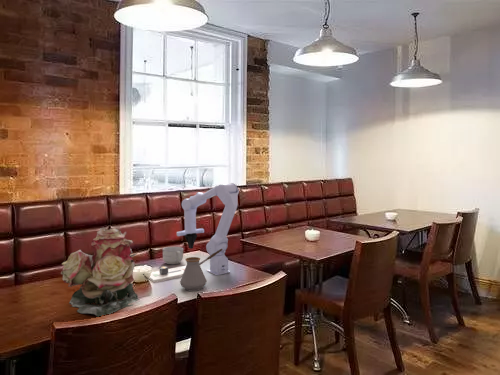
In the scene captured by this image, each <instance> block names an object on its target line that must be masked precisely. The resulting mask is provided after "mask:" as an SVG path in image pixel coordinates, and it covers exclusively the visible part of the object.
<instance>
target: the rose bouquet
mask: <svg viewBox="0 0 500 375" xmlns="http://www.w3.org/2000/svg"><path fill="white" fill-rule="evenodd" d="M126 235H127V231H124V232H123V233H122V231H121V230H119V229H117V228H116V229H115V228H109V229H108V228H107V227H100V228H99V230H98V231H96V237H95V238H93V239H92V241H91V247H92V249H93V251H94V253H93V254H92V255H91V254H88V253H85V252H83V251H82V249H79V250H77V251H75V252H71V253H70V255H68V258H67V260H65V261H63V262H62V263H61V265H62V267H61V270H62V271H61V272H60V275H62V281H63V283H65V284H68V285H67V287H68V288H72V287H74V286H78V285H80V287H79V289H77V290H76V291H74V293H72V295H71V299H70V300H69V303H68V304H69V305H71V307H74V308H78V309H77V310H76V312H77V313H79V314H91V315H95V316H96V317H97V318H98V317H99V316H102V315H106V314H109V315H111V313H112V314H113V312H114V313H115V312H117V311H119V310H121V309H123V308H127V307H132V306H134V304H133V303H137V301H139V300H140V298H139V295H138V294H137V292H135V290H134V288H133V286H134V283H133V282H134V281H135V279H134V269H135V264H136V263H135V260H133V257H135V256H136V255H137V253H134V254H133V251H132V248H131V246H130V245H133V244H134V243H135V242H134V241H133V240H132V239H131V240H130V239H127V238H126ZM106 316H107V315H106ZM102 317H103V316H102ZM99 318H100V317H99Z"/></svg>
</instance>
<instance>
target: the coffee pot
mask: <svg viewBox="0 0 500 375" xmlns="http://www.w3.org/2000/svg"><path fill="white" fill-rule="evenodd" d="M220 251H222V249H220V250H219V251H217V252H215V253H213V254H212V255H209V256H207V257H206V258H205V259H204V260H201V258H200V257H196V256H191V257H187V258H185V260H184V261H186V265H185V266H186V268H185V270H184V273H183V276H182V277H180V281H179V283H180V286H181V287H182V288H183V289H184V290H185V291H188V292H190V291H191V292H196V291H199V290H202V289H203V288H204V287H205V286H206V284H207V281H208V280H207V278H206V276H205V273H204V272H203V270H202V268H201V265H203V264H204V263H206V262H207V261H210V258H212V257H214V256H215V255H216V254H217V253H219V252H220ZM223 251H224V250H223ZM223 253H224V252H223ZM224 254H225V253H224Z"/></svg>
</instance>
